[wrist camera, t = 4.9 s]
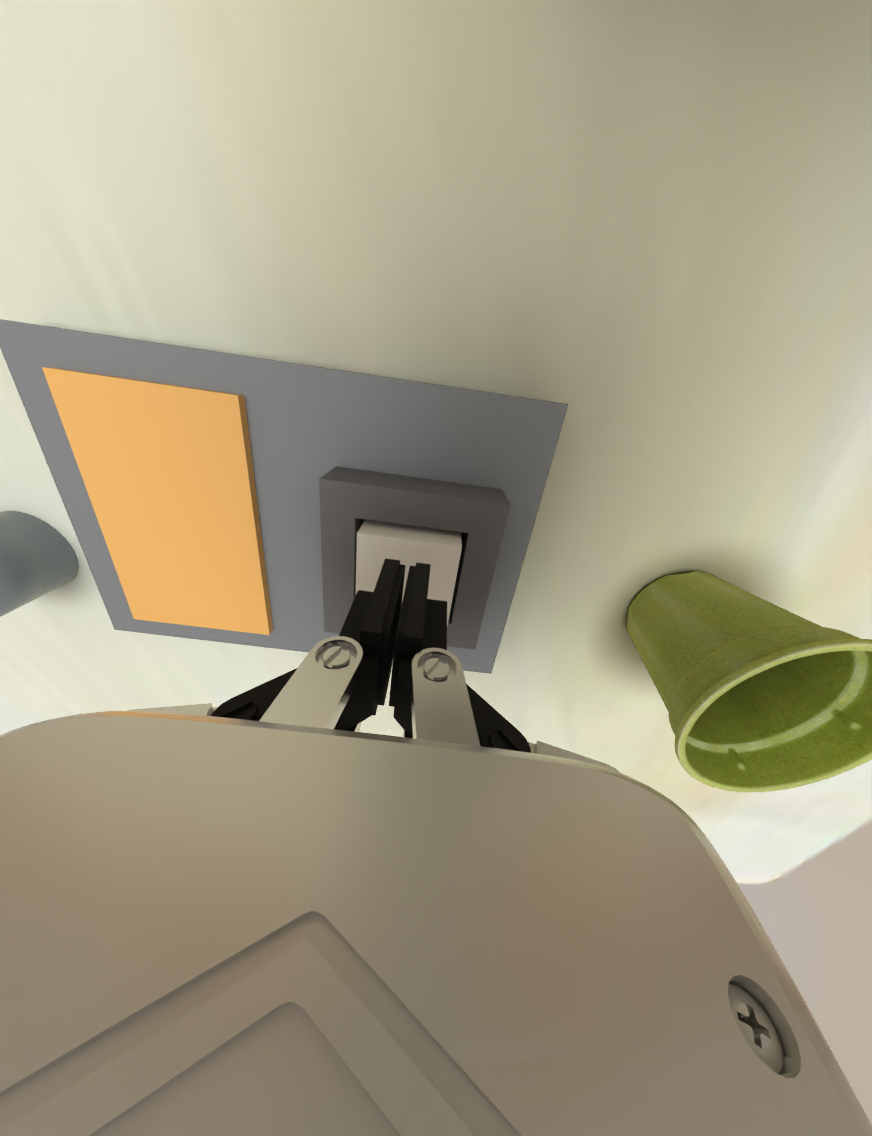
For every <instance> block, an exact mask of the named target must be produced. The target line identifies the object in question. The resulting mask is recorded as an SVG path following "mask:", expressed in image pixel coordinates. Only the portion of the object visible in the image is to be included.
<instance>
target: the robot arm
mask: <svg viewBox="0 0 872 1136" xmlns="http://www.w3.org/2000/svg"><path fill="white" fill-rule="evenodd" d="M430 566H431V564H424V563H417V562H416V566H410V568H409V572H408V577H407V582H406V587H405V592H404V596H403V586H404V576H405V565H402V564H400V560H394V559H385V560H384V563H383V566H382V569H381V572H380V575H379V578H378V580H377V583H376V586H375V589H374V592H370V591H362V590H359V591H358V592H357V594H356V596H355V598H354V601H353V603H352V606H351V608H350V610H349V613H348V615H347V617H346V620H345V622H344V624H343V627H342V629H341V631H340V634H339V636H335V637H329V638H326V639H324V640H322V641H320V642H318V643H317V644H316V645H315V646H314V647H313V648H312V649H311V651H310V652H309V653H308V655H307V656H306V658H305V659H304V660H303V662H302V663H301V664H300V666H299V667H298V668H297V669H294V670H292V671H290V672H288V673H286V674H284V675H281V676H279V677H277V678H275V679H273V680H270V681H268V682H266V683H264V684H262V685H260V686H257V687H255V688H253V689H251V690H249V691H247V692H244V693H242V694H240V695H238V696H236V697H233V698H231V699H230V700H228V701H226V702H224V703H223V704H221V705H220V706H219V707H214V708H213V707H212V704H211V703H210V704H198V705H185V706H173V707H161V708H149V709H137V710H128V711H106V712H96V713H86V714H77V715H72V716H67V717H61V718H56V719H51V720H46V721H42V722H38V723H34V724H31V725H28V726H24V727H21V728H18V729H15V730H12V731H10V732H7V733H5V734H3V735H0V1136H872V1125H871V1123H870V1121H869V1119H868V1117H867V1115H866V1114H865V1112H864V1110H863V1108H862V1106H861V1104H860V1103H859V1101H858V1099H857V1097H856V1095H855V1093H854V1092H853V1090H852V1088H851V1086H850V1084H849V1082H848V1081H847V1079H846V1077H845V1075H844V1073H843V1071H842V1069H841V1068H840V1066H839V1064H838V1062H837V1060H836V1058H835V1056H834V1055H833V1053H832V1051H831V1049H830V1047H829V1045H828V1044H827V1042H826V1040H825V1038H824V1037H823V1035H822V1033H821V1031H820V1029H819V1027H818V1025H817V1023H816V1022H815V1020H814V1018H813V1016H812V1014H811V1012H810V1011H809V1009H808V1007H807V1005H806V1003H805V1001H804V999H803V998H802V996H801V994H800V992H799V990H798V988H797V986H796V985H795V983H794V981H793V979H792V978H791V976H790V974H789V973H788V970H787V969H786V967H785V965H784V964H783V962H782V960H781V958H780V956H779V955H778V953H777V951H776V949H775V948H774V946H773V944H772V942H771V941H770V939H769V937H768V935H767V934H766V932H765V930H764V928H763V927H762V925H761V923H760V922H759V920H758V918H757V916H756V914H755V913H754V911H753V909H752V907H751V906H750V904H749V902H748V901H747V899H746V898H745V896H744V894H743V892H742V891H741V889H740V888H739V886H738V884H737V883H736V881H735V879H734V878H733V876H732V874H731V873H730V871H729V870H728V868H727V867H726V865H725V864H724V862H723V861H722V859H721V858H720V856H719V854H718V853H717V851H716V850H715V848H714V847H713V845H712V844H711V843H710V841H709V840H708V838H707V837H706V836H705V834H704V833H703V832H702V831H701V829H700V828H699V827H698V826H697V824H696V823H695V822H694V821H693V820H692V819H691V818H690V817H689V816H688V815H687V814H686V812H685V811H683V810H682V809H681V808H680V807H679V806H677V805H676V804H675V803H674V802H673V801H671V800H670V799H668V798H667V797H665V796H664V795H662V794H661V793H659V792H657V791H656V790H654V789H652V788H651V787H649V786H647V785H645V784H643V783H641V782H639V781H637V780H635V779H633V778H631V777H629V776H626V775H624V774H621V773H620V772H619V771H618V770H617V769H615V768H613V767H611V766H609V765H607V764H605V763H602V762H599V761H596V760H593V759H590V758H587V757H584V756H581V755H579V754H576V753H573V752H570V751H567V750H564V749H561V748H558V747H555V746H552V745H549V744H546V743H543V742H540V741H537V742H536V744H533V743H530V742H527V740H526V738H525V737H524V736H523V735H522V734H521V733H520V732H519V731H518V730H517V729H516V728H515V727H514V726H513V725H512V724H510V723H509V722H508V721H507V720H506V719H505V718H504V717H503V716H502V715H500V714H499V713H498V712H497V711H496V710H495V709H494V708H493V707H491V706H490V705H489V704H488V703H487V702H486V701H485V700H484V699H483V698H481V697H480V696H479V695H478V694H477V693H476V692H475V691H474V690H472V689H471V688H470V687H469V686H468V685H467V684H466V682H465V677H464V673H463V669H462V665H461V663H460V661H459V659H458V658H457V657H456V656H455V655H454V654H452V653H451V652H449V651H447V601H441V600H433V599H427V596H428V586H429V576H430ZM402 597H403V601H402ZM392 662H393V667H392ZM391 667H392V678H391V689H390V700H389V706H393V707H394V718H395V719H396V721H397V722H398V723H399V724H400V725H401V726H402V728H403V737H397V736H388V735H379V734H370V733H361V732H359V731H360V727H361V722H362V721H363V720H365V719H366V718H368V717H370V716H371V715H376V710H377V706H378V705H384V702H385V698H386V693H387V688H388V682H389V677H390V672H391Z"/></svg>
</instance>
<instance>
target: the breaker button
mask: <svg viewBox="0 0 872 1136" xmlns="http://www.w3.org/2000/svg"><path fill="white" fill-rule="evenodd" d="M461 549H462V542H461V532H457V531H449V530H442V529H434V528H427V527H419V526H412V525H404V524H396V523H389V522H381V521H374V520H366V519H365V521H364V522H363V524H362V526H361V527H360V529H359V530H358V532H357V554H356V594H357V592H358V591H359V590H362V591H370V592H374V589H375V586H376V583H377V580H378V578H379V575H380V572H381V569H382V566H383V563H384V560H385V559H394V560H400V564H402V565H405V576H404V586H403V596H404V592H405V587H406V582H407V577H408V572H409V568H410V566H416V562H417V563H424V564H431V566H430V576H429V586H428V596H427V599H433V600H441V601H447V625H448V620H449V614H450V609H451V604H452V598H453V593H454V587H455V582H456V577H457V571H458V566H459V560H460V555H461ZM402 601H403V597H402Z"/></svg>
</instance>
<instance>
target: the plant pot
mask: <svg viewBox="0 0 872 1136" xmlns="http://www.w3.org/2000/svg"><path fill="white" fill-rule="evenodd" d="M627 631H628V633H629V635H630V637H631V639H632V641H633V643H634V645H635V647H636V649H637V651H638V653H639V655H640V656H641V658H642V660H643V662H644V664H645V666H646V668H647V670H648V672H649V674H650V676H651V678H652V680H653V682H654V684H655V686H656V688H657V690H658V692H659V694H660V696H661V698H662V700H663V702H664V704H665V706H666V708H667V710H668V712H669V721H670V724H671V727H672V730H673V732H674V734H675V751H676V755H677V758H678V760H679V762H680V764H681V765H682V767H683V768H684V770H685V771H686V772H687V773H688V774H689V775H690V776H691V777H693V778H694V779H696V780H698V781H700V782H702V783H703V784H705V785H708V786H711V787H713V788H720V789H723V790H727V791H734V792H767V791H776V790H783V789H790V788H794V787H799V786H803V785H807V784H811V783H814V782H818V781H821V780H824V779H828V778H831V777H834V776H836V775H839V774H841V773H843V772H846V771H848V770H851V769H853V768H855V767H857V766H859V765H861V764H863V763H866V762H868V761H870V760H871V759H872V640H869V639H860V638H858V637H855V636H853V635H851V634H848V633H846V632H843V631H839V630H835V629H831V628H825V627H821V626H819V625H817V624H815V623H813V622H810V621H808V620H806V619H804V618H802V617H800V616H797V615H795V614H793V613H791V612H789V611H787V610H785V609H782V608H780V607H778V606H776V605H774V604H772V603H770V602H767V601H765V600H763V599H761V598H759V597H757V596H755V595H753V594H750V593H748V592H746V591H744V590H742V589H740V588H738V587H736V586H734V585H732V584H730V583H728V582H726V581H723V580H721V579H719V578H717V577H715V576H713V575H711V574H708V573H705V572H700V571H693V572H690V573H685V574H676V575H667V576H664V577H662V578H660V579H658V580H656V581H654V582H653V583H651V584H650V585H648V586H647V587H646V588H644V589H643V590H642V591H641V592H640V593H639V594H638V595H637V596H636V597H635V599H634V600H633V602H632V603H631V605H630V607H629V609H628V620H627Z"/></svg>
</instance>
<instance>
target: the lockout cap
mask: <svg viewBox="0 0 872 1136" xmlns="http://www.w3.org/2000/svg"><path fill="white" fill-rule="evenodd" d="M78 568H79V565H78V559H77V556H76V554H75V552H74V550H73V548H72V547H71V545H70V544H69V542H68V541H67V540H66V539H65V538H64V537H63V536H62V535H61V534H60V533H59V532H58V531H57V530H56V529H54V528H53V527H52V526H50V525H49V524H47V523H46V522H44V521H42V520H40V519H39V518H36V517H34V516H32V515H29V514H26V513H22V512H17V511H4V512H0V617H1V616H3V615H5V614H7V613H9V612H11V611H13V610H14V609H16V608H18V607H20V606H22V605H24V604H26V603H28V602H30V601H32V600H34V599H36V598H38V597H40V596H42V595H44V594H46V593H48V592H50V591H52V590H54V589H56V588H58V587H60V586H62V585H64V584H66V583H68V582H70V581H71V580H73V579H74V578H75V577H76V575H77V573H78Z"/></svg>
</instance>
